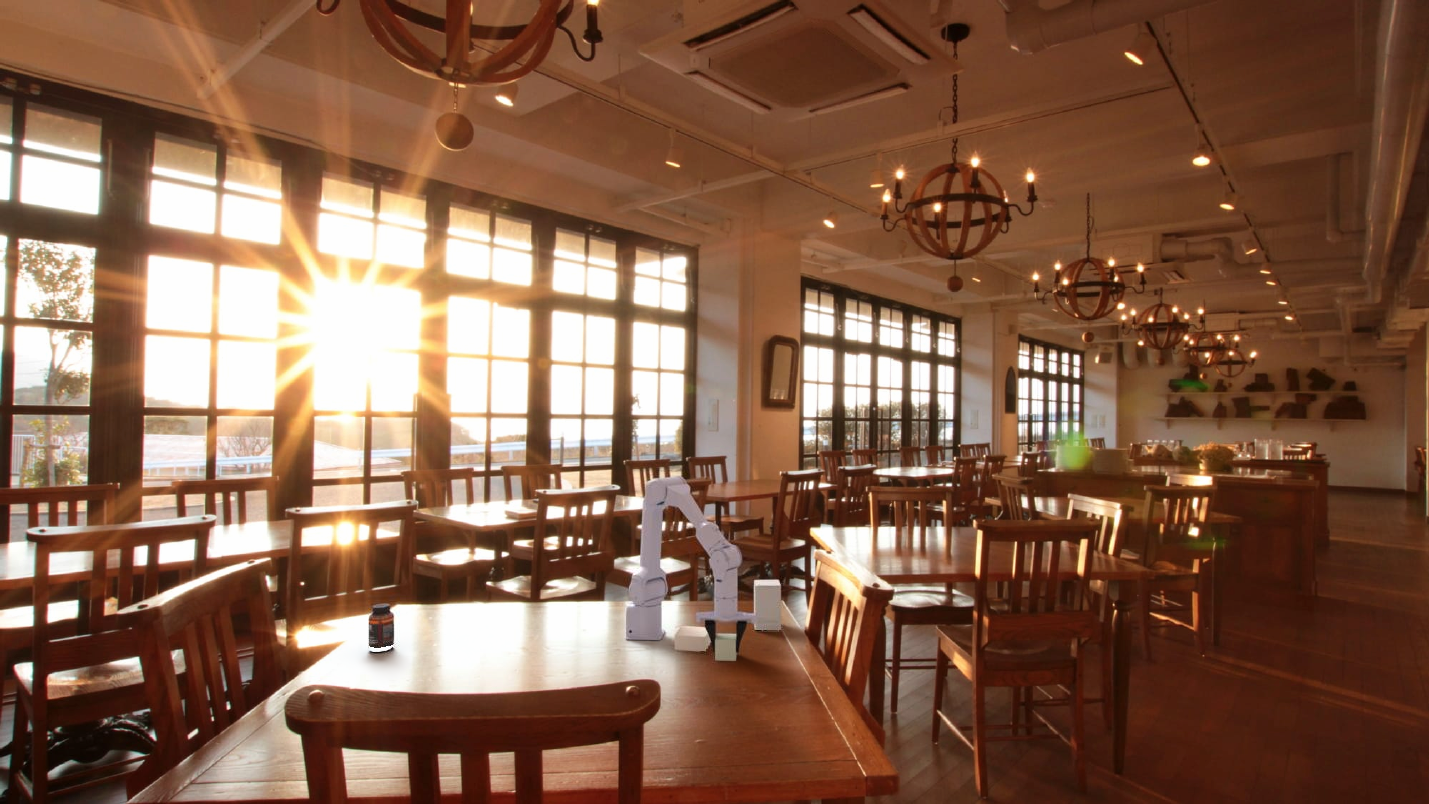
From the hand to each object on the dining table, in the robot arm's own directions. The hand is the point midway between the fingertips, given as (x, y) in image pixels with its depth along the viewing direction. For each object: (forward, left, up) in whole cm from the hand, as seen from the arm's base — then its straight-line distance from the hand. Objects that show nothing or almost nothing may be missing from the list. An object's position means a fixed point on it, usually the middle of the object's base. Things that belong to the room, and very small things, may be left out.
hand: (726, 651), depth 176 cm
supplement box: (+10, +25, -2) cm, 27 cm away
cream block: (-9, +8, -2) cm, 12 cm away
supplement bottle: (-88, -1, -2) cm, 88 cm away
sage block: (0, 0, -1) cm, 1 cm away
